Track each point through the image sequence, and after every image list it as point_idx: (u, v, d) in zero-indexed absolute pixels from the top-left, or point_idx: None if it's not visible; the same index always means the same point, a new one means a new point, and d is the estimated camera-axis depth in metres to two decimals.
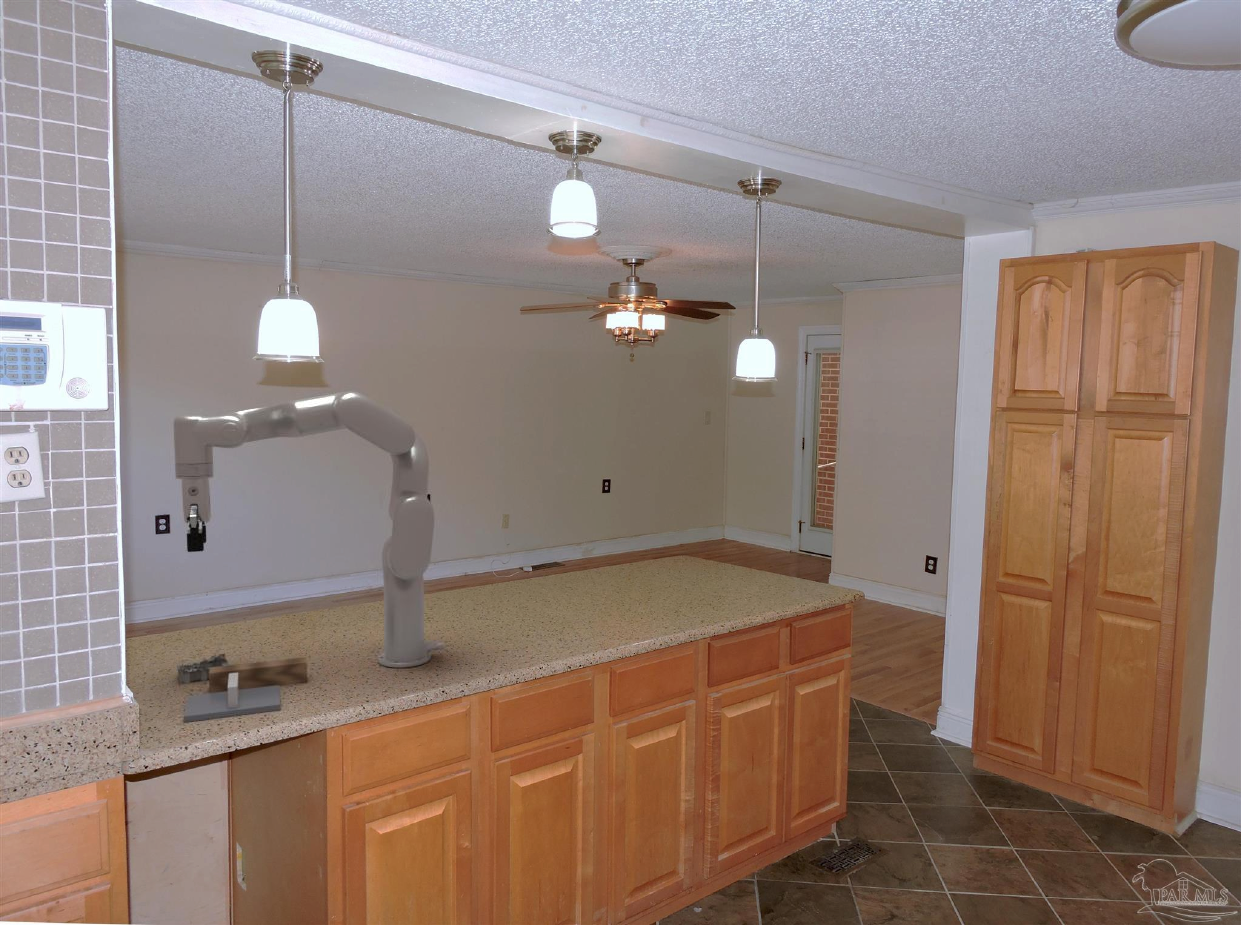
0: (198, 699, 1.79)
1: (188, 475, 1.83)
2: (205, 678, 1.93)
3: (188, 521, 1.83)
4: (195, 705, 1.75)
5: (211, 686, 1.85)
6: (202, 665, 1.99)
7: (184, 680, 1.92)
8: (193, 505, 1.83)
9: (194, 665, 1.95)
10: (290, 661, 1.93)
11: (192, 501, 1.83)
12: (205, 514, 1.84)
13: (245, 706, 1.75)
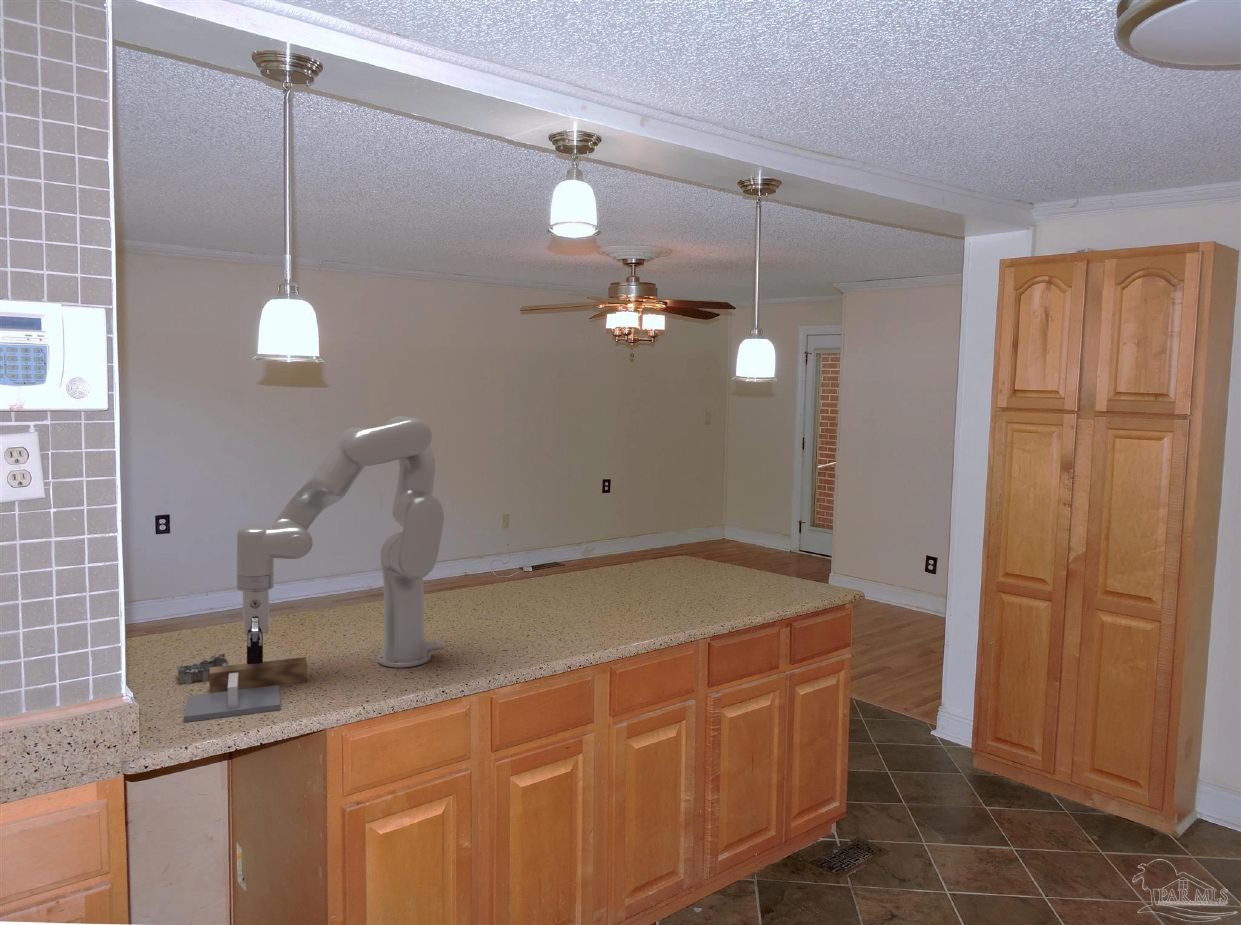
0: (198, 699, 1.79)
1: (250, 588, 1.85)
2: (206, 678, 1.93)
3: (249, 633, 1.84)
4: (195, 705, 1.75)
5: (211, 686, 1.85)
6: (202, 665, 1.99)
7: (185, 681, 1.91)
8: (254, 618, 1.84)
9: (195, 665, 1.95)
10: (290, 661, 1.93)
11: (253, 614, 1.84)
12: (265, 626, 1.85)
13: (245, 706, 1.75)
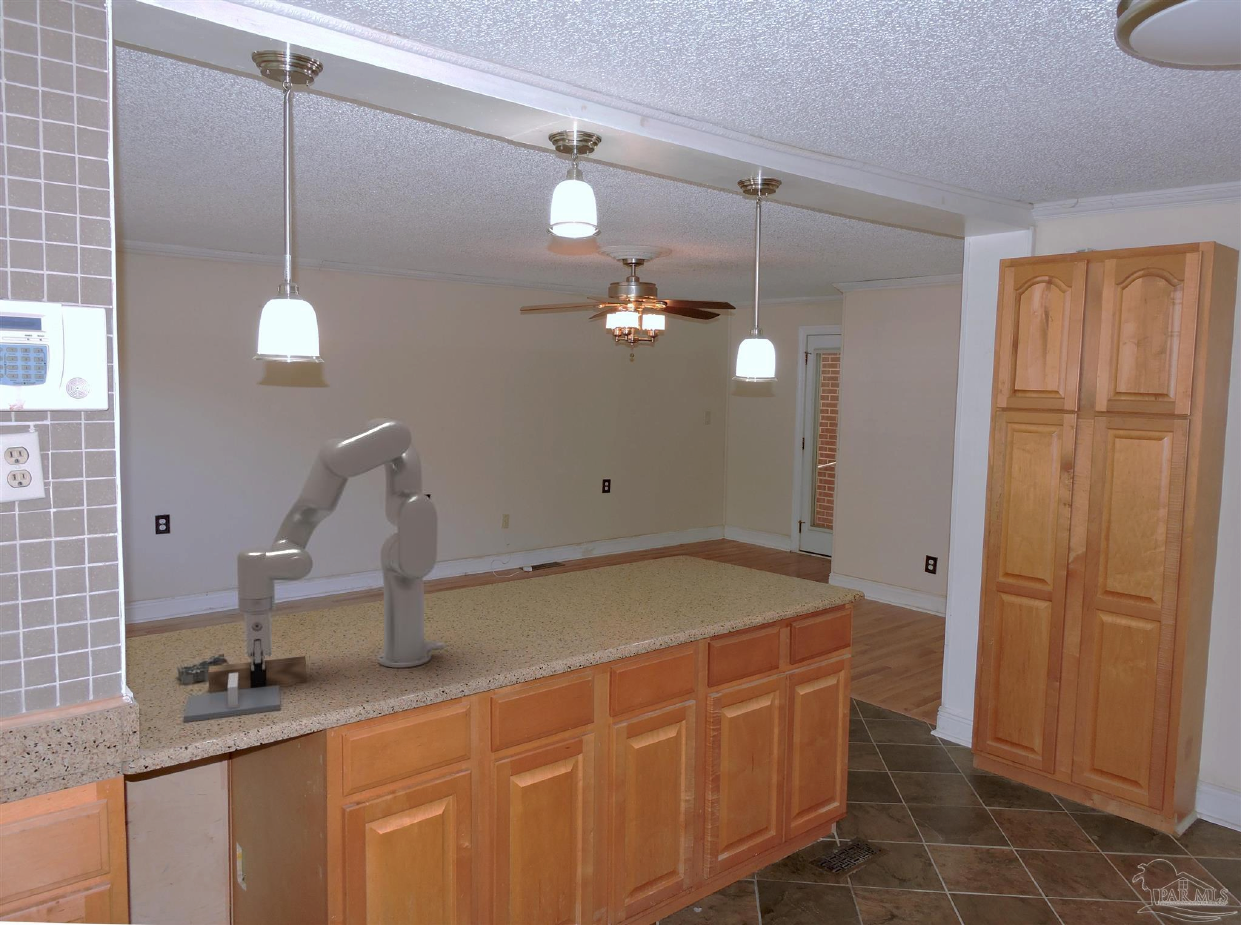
0: (198, 699, 1.79)
1: (252, 610, 1.85)
2: (208, 679, 1.93)
3: (252, 659, 1.86)
4: (195, 705, 1.75)
5: (210, 685, 1.85)
6: (202, 666, 1.98)
7: (187, 681, 1.91)
8: (257, 643, 1.85)
9: (195, 666, 1.94)
10: (290, 660, 1.93)
11: (256, 636, 1.85)
12: (268, 648, 1.86)
13: (245, 706, 1.75)
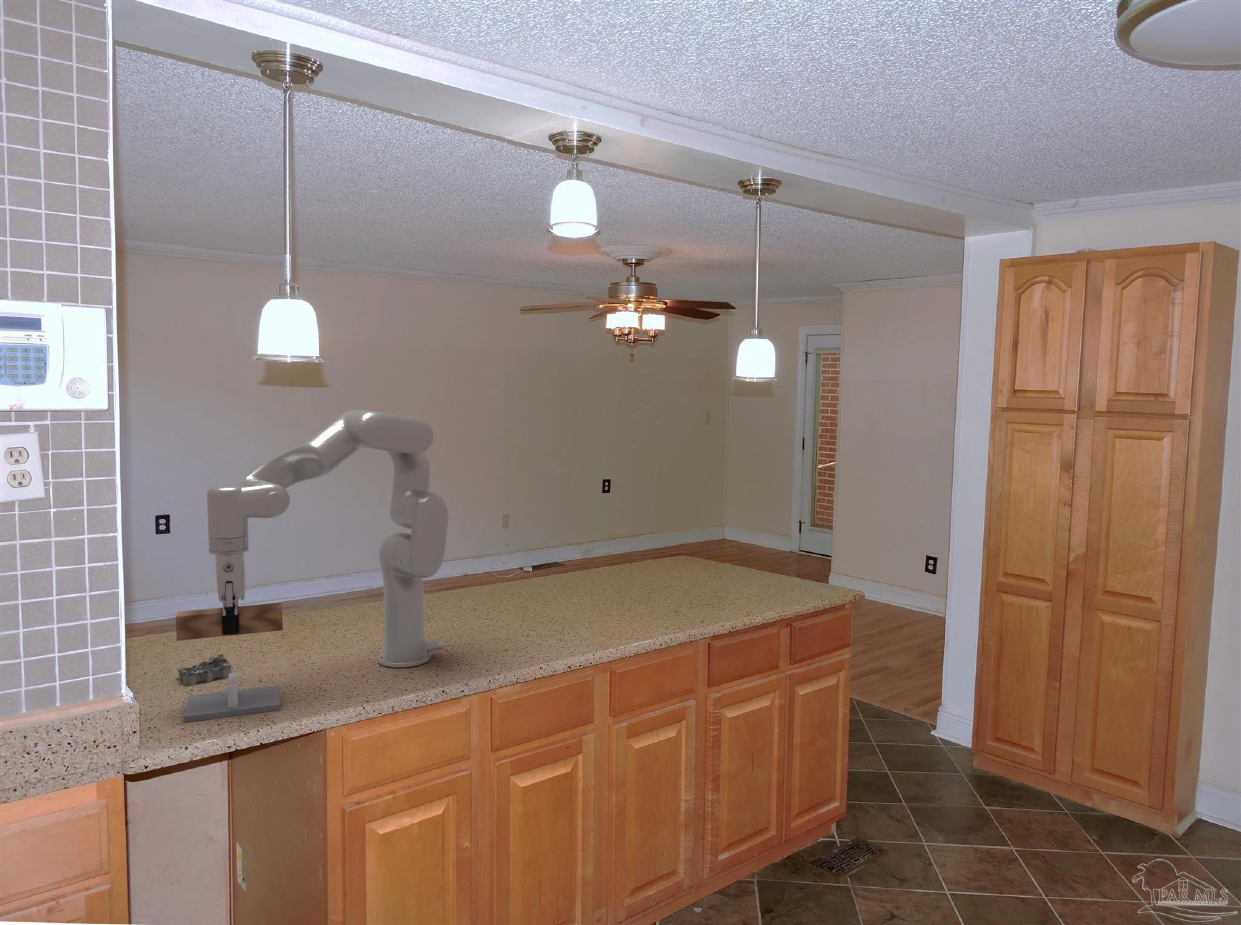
0: (198, 699, 1.79)
1: (223, 550, 1.72)
2: (211, 679, 1.93)
3: (223, 603, 1.73)
4: (195, 705, 1.75)
5: (178, 631, 1.71)
6: (201, 667, 1.98)
7: (190, 682, 1.90)
8: (228, 586, 1.72)
9: (197, 667, 1.94)
10: (265, 606, 1.79)
11: (227, 578, 1.71)
12: (241, 592, 1.73)
13: (245, 706, 1.75)
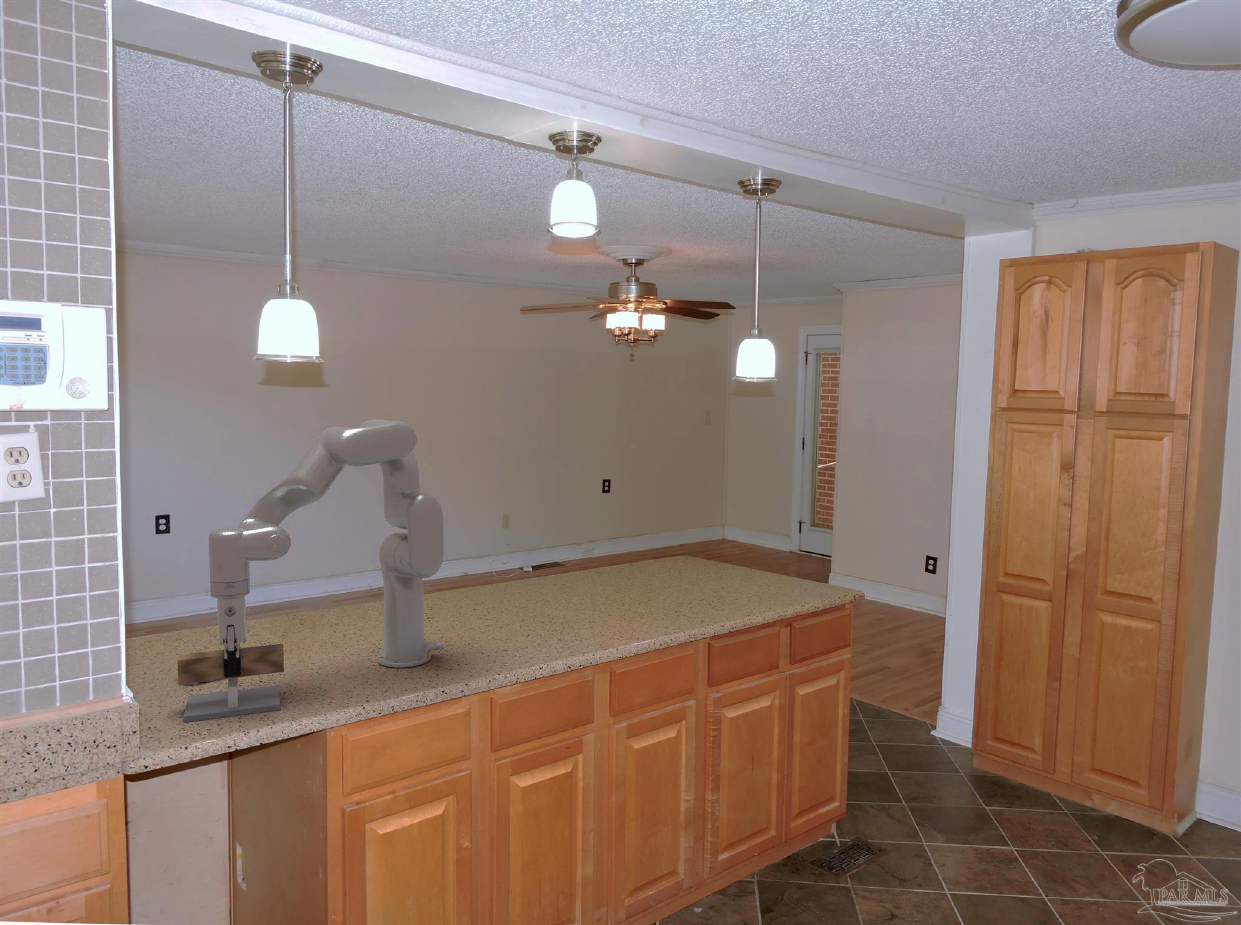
0: (198, 699, 1.79)
1: (224, 594, 1.73)
2: None
3: (225, 646, 1.74)
4: (195, 705, 1.75)
5: (180, 674, 1.72)
6: None
7: None
8: (230, 630, 1.73)
9: None
10: (266, 647, 1.80)
11: (229, 622, 1.72)
12: (242, 635, 1.73)
13: (245, 706, 1.75)
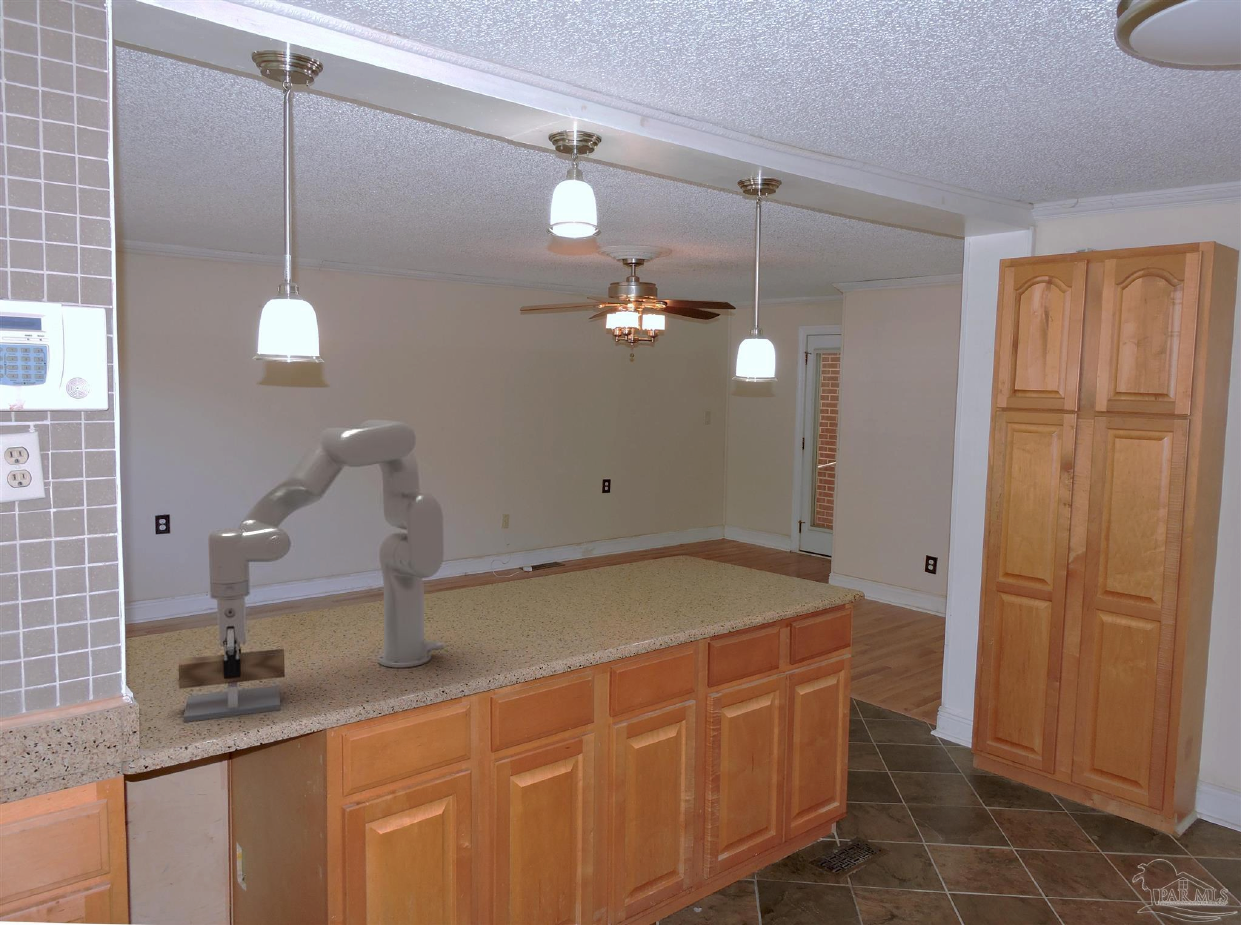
0: (198, 699, 1.79)
1: (224, 595, 1.73)
2: None
3: (224, 647, 1.73)
4: (195, 705, 1.75)
5: (181, 679, 1.73)
6: None
7: None
8: (230, 630, 1.72)
9: None
10: (267, 652, 1.81)
11: (228, 623, 1.72)
12: (242, 636, 1.73)
13: (245, 706, 1.75)
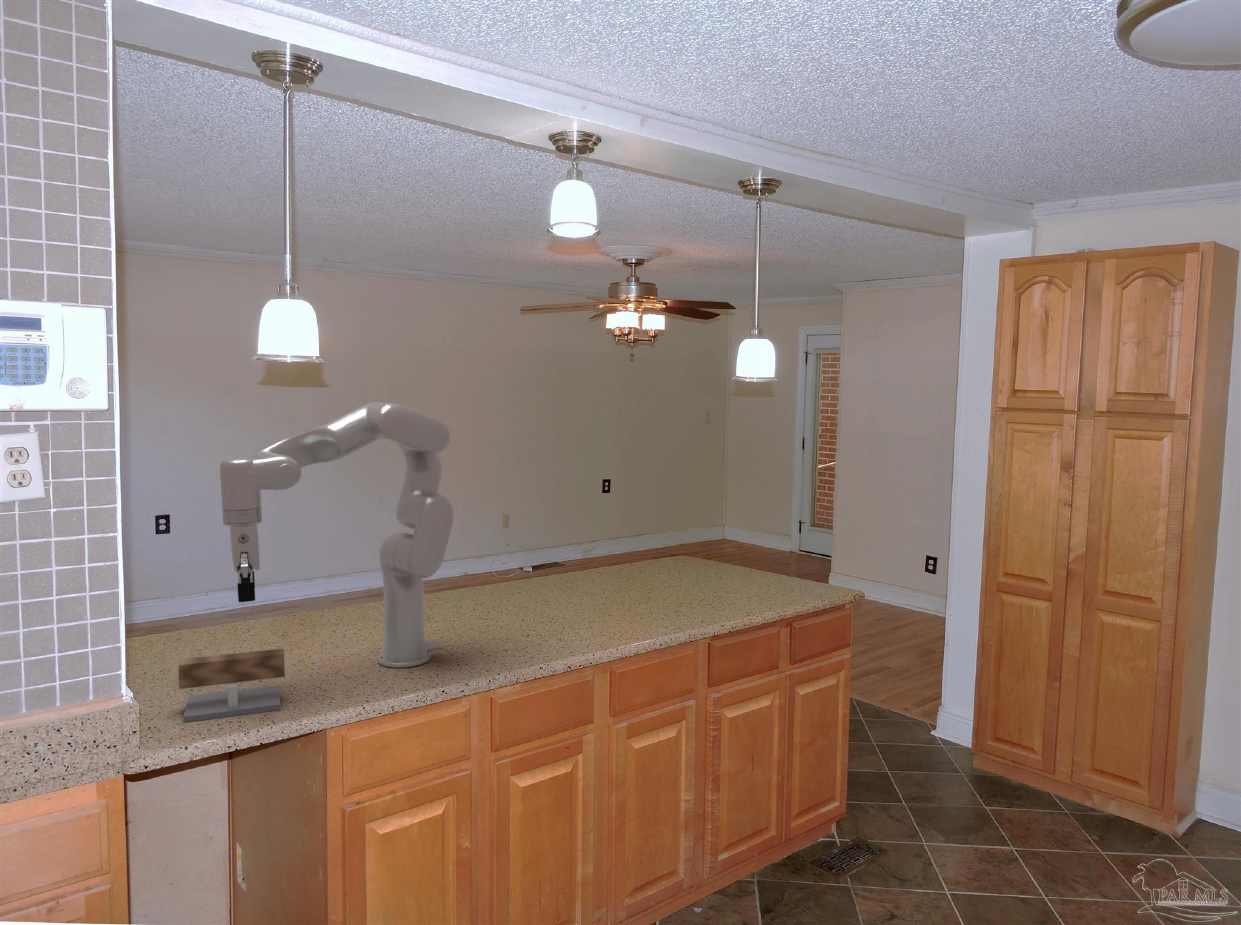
0: (198, 699, 1.79)
1: (237, 522, 1.74)
2: None
3: (238, 570, 1.74)
4: (195, 705, 1.75)
5: (181, 679, 1.73)
6: None
7: None
8: (243, 553, 1.74)
9: None
10: (267, 652, 1.81)
11: (242, 549, 1.74)
12: (256, 562, 1.75)
13: (245, 706, 1.75)
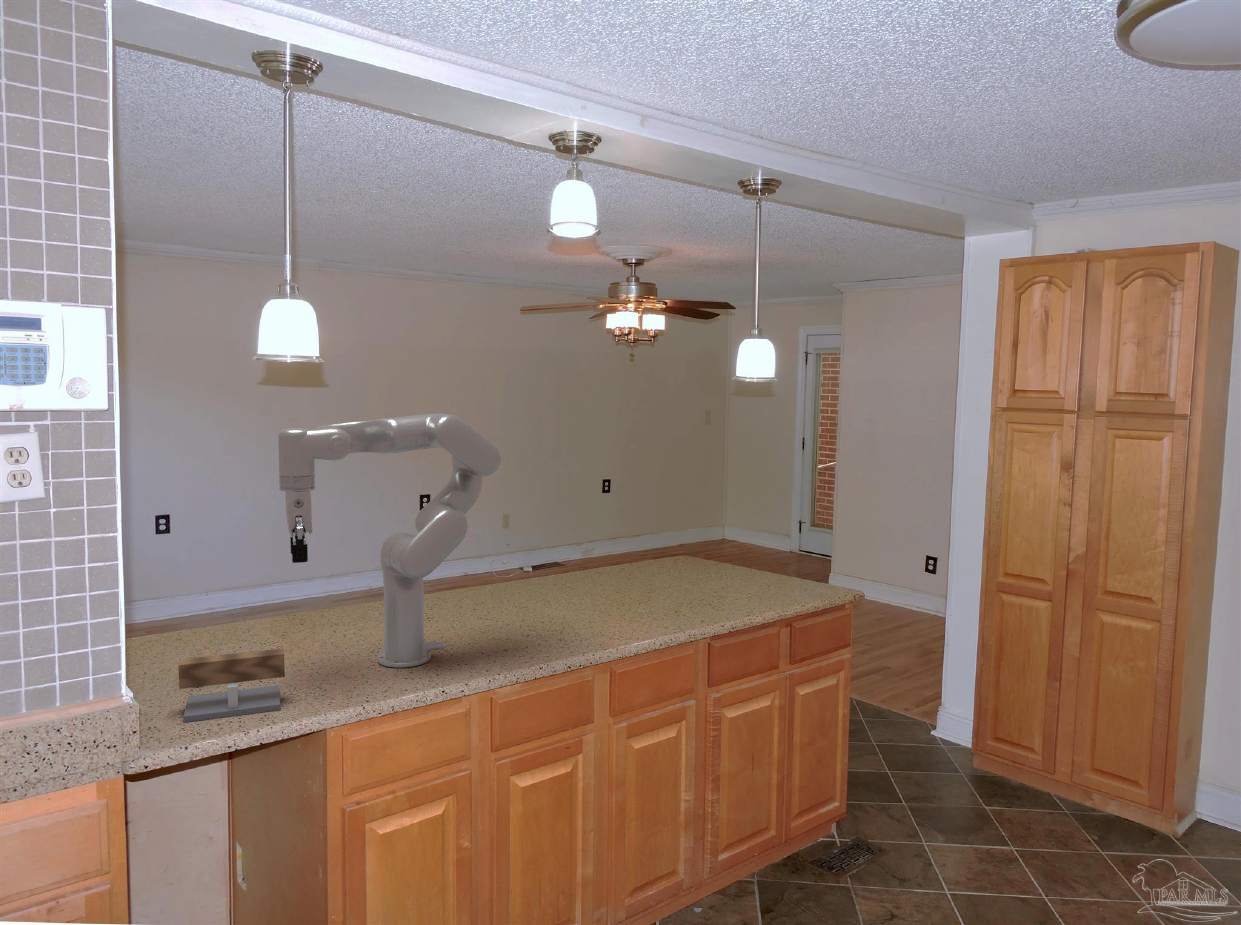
0: (198, 699, 1.79)
1: (293, 487, 1.87)
2: None
3: (293, 533, 1.87)
4: (195, 705, 1.75)
5: (181, 679, 1.73)
6: None
7: None
8: (298, 517, 1.87)
9: None
10: (267, 652, 1.81)
11: (297, 513, 1.87)
12: (309, 526, 1.88)
13: (245, 706, 1.75)
